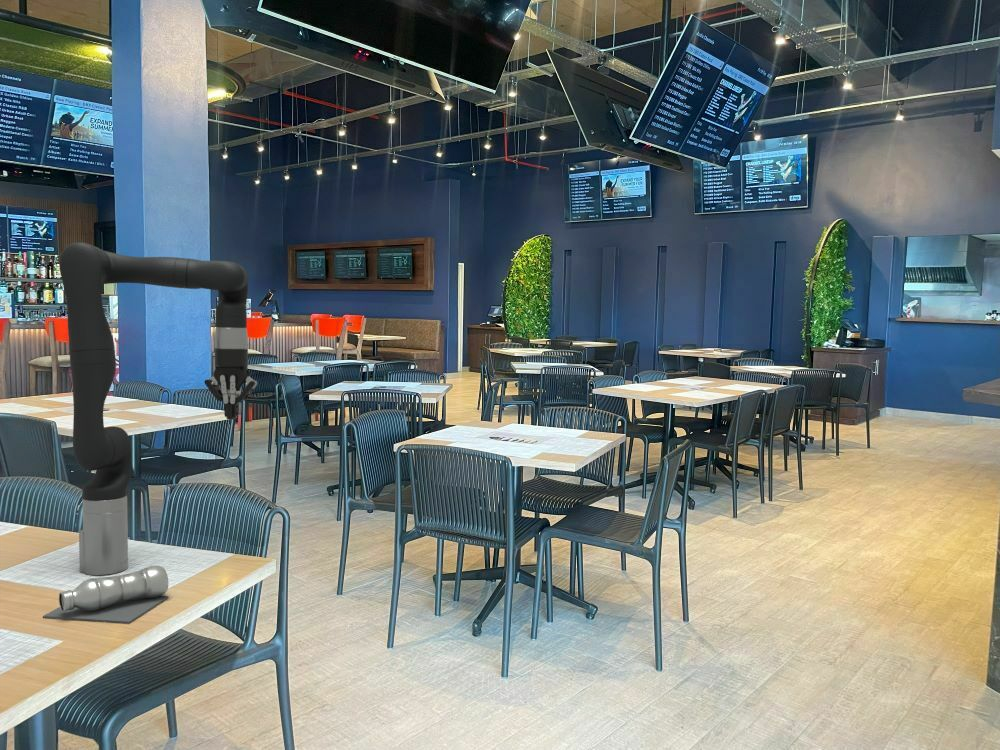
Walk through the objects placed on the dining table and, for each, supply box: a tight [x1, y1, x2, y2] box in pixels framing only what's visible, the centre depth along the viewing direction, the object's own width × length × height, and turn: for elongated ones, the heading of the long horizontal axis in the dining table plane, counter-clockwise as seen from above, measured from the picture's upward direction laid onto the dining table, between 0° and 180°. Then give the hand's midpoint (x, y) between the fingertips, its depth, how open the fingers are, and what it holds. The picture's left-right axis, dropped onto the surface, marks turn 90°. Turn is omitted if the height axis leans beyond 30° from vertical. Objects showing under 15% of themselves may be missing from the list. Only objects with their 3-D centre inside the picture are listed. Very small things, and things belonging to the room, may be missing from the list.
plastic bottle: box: [58, 565, 169, 612], centre depth 157 cm, size 6×7×20 cm
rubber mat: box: [42, 595, 169, 625], centre depth 156 cm, size 18×14×1 cm
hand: (231, 419), depth 185 cm, fingers closed
